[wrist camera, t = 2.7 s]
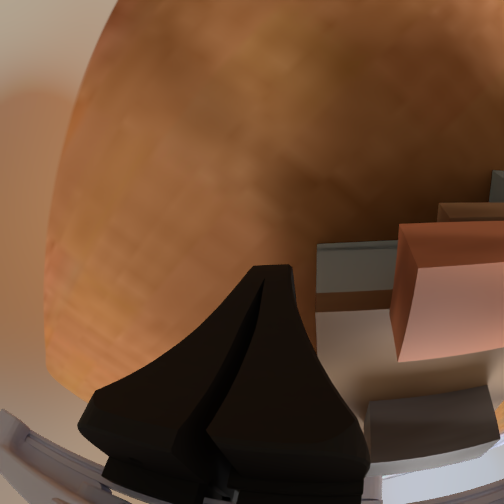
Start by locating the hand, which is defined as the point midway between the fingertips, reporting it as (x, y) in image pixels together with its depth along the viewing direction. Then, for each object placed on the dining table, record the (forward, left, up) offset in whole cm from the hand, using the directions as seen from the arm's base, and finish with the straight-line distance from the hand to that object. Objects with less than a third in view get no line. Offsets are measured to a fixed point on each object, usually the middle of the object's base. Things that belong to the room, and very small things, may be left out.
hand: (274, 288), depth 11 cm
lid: (-9, -8, -3) cm, 13 cm away
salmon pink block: (0, -8, -1) cm, 8 cm away
